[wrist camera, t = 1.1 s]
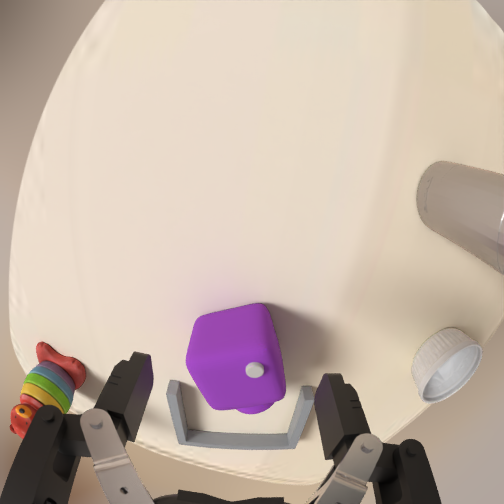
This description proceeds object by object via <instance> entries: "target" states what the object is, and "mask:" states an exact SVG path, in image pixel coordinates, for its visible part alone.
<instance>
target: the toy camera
mask: <svg viewBox="0 0 504 504" xmlns="http://www.w3.org/2000/svg"><path fill="white" fill-rule="evenodd" d="M186 366H187V369H188V371H189V373H190V374H191V376H192V378H193V380H194V381H195V383H196V385H197V386H198V388H199V390H200V391H201V393H202V394H203V396H204V398H205V399H206V401H207V402H208V404H209V405H210V406H211V407H212V408H213V409H215V410H231V409H237V410H238V411H240V412H242V413H245V414H257V413H260V412H263V411H265V410H267V409H268V408H270V407H271V406H272V405H273V404H274V402H276V401H279V400H281V399H283V398H284V396H285V392H286V383H285V375H284V368H283V362H282V356H281V351H280V347H279V343H278V340H277V336H276V333H275V329H274V326H273V322H272V319H271V316H270V313H269V311H268V309H267V308H266V306H265V305H263V304H260V303H256V304H250V305H245V306H241V307H236V308H232V309H227V310H223V311H218V312H214V313H210V314H206V315H202V316H200V317H199V318H197V320H196V321H195V324H194V327H193V331H192V335H191V338H190V342H189V346H188V350H187V355H186Z"/></svg>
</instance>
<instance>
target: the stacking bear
mask: <svg viewBox="0 0 504 504" xmlns="http://www.w3.org/2000/svg"><path fill="white" fill-rule="evenodd" d="M36 353H37V357H38V361H39V364H38V365H37V366H36V367H35V368H33V369H32V370H31V371H30V373H29V374H28V375H27V377H26V379H25V381H24V385H23V388H22V391H21V396H20V402H21V404H18V405H16V406H15V407H14V408H13V409H12V411H11V423H12V424H11V425H10V430H11V431H12V432H13V433H15V434H18V435H19V436H20V437H21V438H22V439H23V438H24V436H25V434H26V432H27V430H28V428H29V426H30V424H31V422H32V420H33V418H34V416H35V414H36V412H37V410H38V409H39V408H40V407H42V406H44V405H54V406H56V407H58V408H59V409H60V410H61V412H62V413H63V414H66V413H67V412H68V410H69V409H70V406H71V404H72V401H73V396H74V392H75V390H76V389H78V388H79V387H81V386H82V384H83V383H84V381H85V377H86V373H85V368H84V366H83V365H82V364H81V363H80V362H79V361H78V360H76V359H75V358H72V357H65V356H62V355H60V354H58V353H57V352H55V351H54V350H53V349H52V348H51V347H50V346H49V345H48V344H46V343H44V342H39V343H38V344H37V346H36Z"/></svg>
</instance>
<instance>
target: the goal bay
mask: <svg viewBox="0 0 504 504" xmlns="http://www.w3.org/2000/svg"><path fill="white" fill-rule="evenodd" d="M166 395H167V400H168V404H169V408H170V412H171V416H172V420H173V424H174V428H175V431H176V435H177V439H178V442H179V444H181V445H189V446H198V447H208V448H221V449H242V450H278V449H295V448H296V446H297V443H298V441H299V438H300V436H301V434H302V431H303V429H304V426H305V424H306V421H307V418H308V416H309V413H310V411H311V408H312V405H313V402H314V396H313V392H312V388H311V386H302V388H301V391H300V395H299V398H298V401H297V405H296V408H295V411H294V414H293V417H292V420H291V424H290V427H289V430H288V433H287V434H237V433H219V432H206V431H196V430H188V427H187V422H186V417H185V412H184V406H183V401H182V395H181V389H180V382H179V381H175V380H170V382H169V385H168V389H167V393H166Z"/></svg>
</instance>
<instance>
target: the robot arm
mask: <svg viewBox="0 0 504 504" xmlns="http://www.w3.org/2000/svg"><path fill="white" fill-rule="evenodd" d="M417 207H418V212H419V215H420V217H421V219H422V221H423V222H424V224H425V225H426V226H427V227H429V228H430V229H432V230H433V231H435V232H437V233H439V234H440V235H442V236H444V237H446V238H447V239H449V240H450V241H452V242H454V243H455V244H457V245H459V246H460V247H462V248H463V249H465V250H467V251H468V252H470V253H471V254H473V255H474V256H476V257H478V258H479V259H481V260H482V261H484V262H485V263H487V264H488V265H490V266H491V267H493V268H494V269H495V270H497V271H498V272H500V273H501V274H503V275H504V175H503V174H500V173H496V172H492V171H488V170H484V169H480V168H475V167H471V166H466V165H462V164H457V163H452V162H447V161H440V162H436V163H434V164H433V165H431V166H430V167H429V168H428V169H427V170H426V171H425V173H424V174H423V176H422V178H421V180H420V183H419V186H418V190H417ZM153 379H154V378H153V370H152V362H151V356H150V355H149V354H144V353H139V352H133V354H132V356H131V358H130V360H129V361H126V360H122V361H121V362H119V363H118V364H117V365H116V366H115V367H114V369H113V371H112V373H111V376H109V378H108V380H107V383H106V384H105V386H104V388H103V390H102V392H101V394H100V396H99V398H98V401H97V403H96V405H95V406H94V408H93V409H89V410H87V411H86V412H84V413H83V414H80V415H76V414H63V413H62V412H61V410H60V409H59V408H58V407H56V406H54V405H44V406H42V407H40V408H39V409H38V410H37V412H36V414H35V416H34V418H33V420H32V422H31V424H30V426H29V428H28V430H27V432H26V434H25V436H24V438H23V441H22V443H21V445H20V447H19V450H18V452H17V454H16V457H15V459H14V462H13V464H12V467H11V469H10V472H9V474H8V477H7V480H6V483H5V486H4V488H3V491H2V494H1V498H0V504H68V500H69V496H70V493H71V489H72V485H73V482H74V478H75V475H76V472H77V468H78V465H79V462H80V459H81V456H82V457H92V459H93V462H94V466H93V467H94V470H95V472H96V475H97V478H98V480H99V482H100V484H101V487H102V489H103V491H104V493H105V495H106V497H107V499H108V501H109V503H110V504H290V503H286V502H284V498H283V497H272V498H262V497H260V498H259V497H258V498H253V499H247V500H241V501H234V502H230V501H226V500H223V499H219V498H216V497H213V496H210V495H207V494H203V493H197V492H190V491H183V490H178V494H172V495H165V496H161V497H158V498H156V499H154V500H153V499H152V497H151V496H150V494H149V492H148V491H147V489H146V487H145V486H144V484H143V482H142V481H141V479H140V477H139V475H138V473H137V471H136V469H135V468H134V466H133V464H132V462H131V460H130V458H129V456H128V454H127V452H126V450H125V445H126V442H127V440H128V441H132V442H135V438H136V435H137V432H138V429H139V426H140V423H141V420H142V417H143V414H144V411H145V408H146V405H147V402H148V399H149V396H150V393H151V390H152V387H153ZM314 405H315V410H316V415H317V420H318V425H319V430H320V435H321V440H322V446H323V451H324V456H325V460H330V459H333V461H334V465H333V466H332V468H331V469H330V471H329V472H328V474H327V475H326V477H325V478H324V480H323V481H322V483H321V484H320V485H319V487H318V488H317V490H316V491H315V492H314V494H313V495H312V496H311V497H310V498H309V499H308V501H307V502H306V503H305V504H360V503H361V500H362V499H363V497H364V495H365V493H366V491H367V488H368V487H367V486H366V484H367V482H372V483H373V488H374V494H375V499H376V504H441V500H440V497H439V493H438V490H437V486H436V483H435V480H434V477H433V474H432V471H431V467H430V464H429V461H428V458H427V456H426V453H425V450H424V447H423V446H422V444H421V443H420V442H419V441H417V440H414V439H407V440H405V441H403V442H402V443H401V444H400V445H395V444H387V443H382V442H381V440H380V439H379V438H378V437H377V436H375V435H373V434H371V432H370V429H369V426H368V423H367V420H366V417H365V414H364V411H363V409H362V406H361V403H360V401H359V397H358V394H357V392H356V390H355V389H354V388H353V387H352V386H351V385H350V384H345V383H344V380H343V377H342V375H341V374H340V373H325V374H324V375H323V377H322V380H321V382H320V384H319V387H318V389H317V391H316V394H315V398H314Z"/></svg>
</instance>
